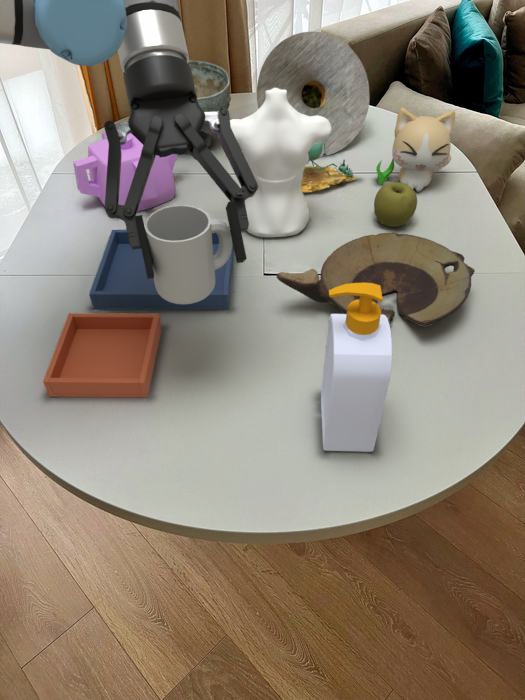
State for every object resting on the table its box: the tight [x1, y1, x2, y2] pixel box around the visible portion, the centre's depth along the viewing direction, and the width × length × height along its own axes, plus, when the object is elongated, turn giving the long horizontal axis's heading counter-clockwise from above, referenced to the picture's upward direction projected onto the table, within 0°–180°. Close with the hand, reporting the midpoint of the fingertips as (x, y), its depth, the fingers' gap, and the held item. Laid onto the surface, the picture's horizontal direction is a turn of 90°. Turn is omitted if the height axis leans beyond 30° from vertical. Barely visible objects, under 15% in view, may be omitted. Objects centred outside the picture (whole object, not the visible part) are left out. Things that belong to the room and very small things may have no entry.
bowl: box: [188, 59, 232, 148], centre depth 123 cm, size 20×19×15 cm
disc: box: [256, 31, 370, 158], centre depth 127 cm, size 25×18×25 cm
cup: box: [144, 204, 232, 304], centre depth 65 cm, size 7×10×9 cm
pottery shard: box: [275, 232, 476, 327], centre depth 89 cm, size 22×30×8 cm
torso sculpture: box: [230, 88, 331, 238], centre depth 96 cm, size 18×10×25 cm, turn 95°
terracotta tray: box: [42, 312, 163, 398], centre depth 80 cm, size 14×14×3 cm
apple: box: [373, 181, 418, 228], centre depth 103 cm, size 8×8×7 cm
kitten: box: [376, 107, 456, 193], centre depth 110 cm, size 15×10×15 cm
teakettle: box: [73, 131, 179, 213], centre depth 109 cm, size 17×17×12 cm
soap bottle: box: [320, 283, 393, 453], centre depth 65 cm, size 9×7×23 cm
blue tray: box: [88, 229, 235, 310], centre depth 94 cm, size 22×18×3 cm
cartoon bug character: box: [301, 141, 358, 194], centre depth 111 cm, size 10×18×15 cm, turn 83°
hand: (196, 268), depth 63 cm, fingers closed on cup, 10 cm apart
